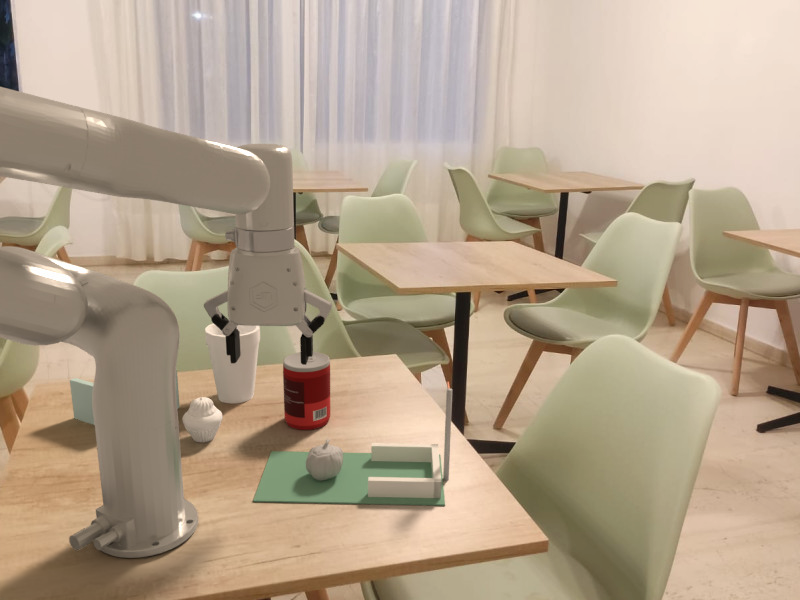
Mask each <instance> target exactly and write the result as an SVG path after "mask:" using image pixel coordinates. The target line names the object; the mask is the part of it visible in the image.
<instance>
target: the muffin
mask: <svg viewBox="0 0 800 600" xmlns="http://www.w3.org/2000/svg"><path fill="white" fill-rule="evenodd" d="M223 418H224V417H223V413H222V411H221V410H219V409H218V408H217V407H216V406H215V405H214V402H213V400H212V399H210V398H209V397H205V396H204V397H203V396H201V397H198V398H195V399H192V401H191V402H190V403H189V407H188V410H187V411H185V412H184V414H183V416H182V420H181V421H182V424H183V426H184V428H185V430H186V431H187V433H188V434H189V436H190V437H191V438H192V439H193V441H194V442H196V443H208V442H210V441H213V440H214V439H215V437H216V435H217V433H218V431H219V429H220V427H221V425H222V424H221V423H222V421H223Z"/></svg>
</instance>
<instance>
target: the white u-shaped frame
mask: <svg viewBox="0 0 800 600" xmlns="http://www.w3.org/2000/svg"><path fill="white" fill-rule="evenodd" d="M446 383H447V385H446V396H445V397H446V398H445V422H444V423H445V424H444V425H445V426H444V443H443V444H444V450H443V469H442V478H443V481H449V479H450V457H451V456H450V455H451V436H452V435H451V434H452V432H451V431H452V430H451V429H452V428H451V427H452V408H453V406H452V405H453V389H452V388H451V387H450V381H447V382H446ZM370 453H371V461H394V462H431V468H432V478H399V477H368V497H401V498H441V472H440V461H439V454H440V453H439V444H438V443H398V442H397V443H395V442H394V443H391V442H390V443H389V442H371V452H370Z"/></svg>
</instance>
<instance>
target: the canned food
mask: <svg viewBox="0 0 800 600" xmlns="http://www.w3.org/2000/svg"><path fill="white" fill-rule="evenodd" d="M282 376H283V377H282V381H283V408H284V420H285V422H286V425H288V427H290V428H293V429H295V430H298V431H310V430H311V431H312V430H318V429H320V428H323V427H324V426H325V425H327V424H328V423H329V422H330V418H331V359H330V357H329V355H327V354H325V353H323V352H318V351H313V355H312V357H309V358H308V361H307V364H306V365H302V364H301V351H299V352H294V353H291V354H289V355H287V356H286V357H284V359H283V363H282Z"/></svg>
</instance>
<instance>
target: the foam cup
mask: <svg viewBox="0 0 800 600" xmlns="http://www.w3.org/2000/svg"><path fill="white" fill-rule="evenodd" d="M228 320H229V319H228ZM229 321H230V320H229ZM260 327H261V326H247V325H238V326H237V329H238V331H239V332H240V352H241V355H240V357H239V359H238V361H237V362H236V363H231V360H230V355H227V353H226V336H225V335H223V333H222V331H221V330H220V329H219V328H218V327H217V326H216V325H215V324H214V323H213V322H212V323H211V324H209V325H207V326H206V327H205V328H204V331H205V332H204V333H205V334H204V335H205V343H206V346H207V349H208V353H209V358H210V362H211V368H212V372H213V378H214V382H215V388H216V394H217V398H218V401H220V402H221V403H225V404H240V403H245V402H248V401H250V400H252V399H253V398H254V394H255V386H256V376H257V366H258V364H257V363H258V355H259V348H260V347H259V345H260V341H261V328H260Z"/></svg>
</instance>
